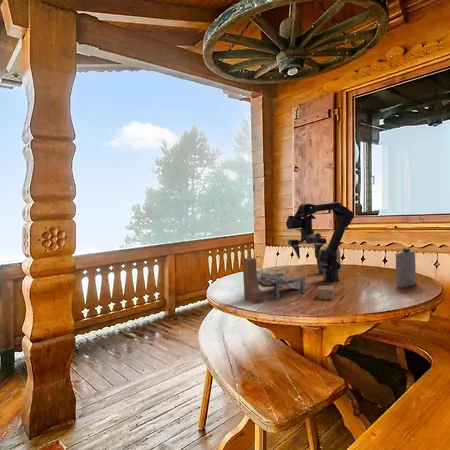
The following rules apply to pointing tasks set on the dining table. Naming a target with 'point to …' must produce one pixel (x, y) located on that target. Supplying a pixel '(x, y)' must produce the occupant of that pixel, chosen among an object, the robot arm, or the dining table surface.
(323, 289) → the stand
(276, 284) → the frame
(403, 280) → the flask
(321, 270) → the mineral sample
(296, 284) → the gray rectangular block
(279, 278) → the trapdoor
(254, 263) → the wooden block
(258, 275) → the rock fragment
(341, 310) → the dining table surface
